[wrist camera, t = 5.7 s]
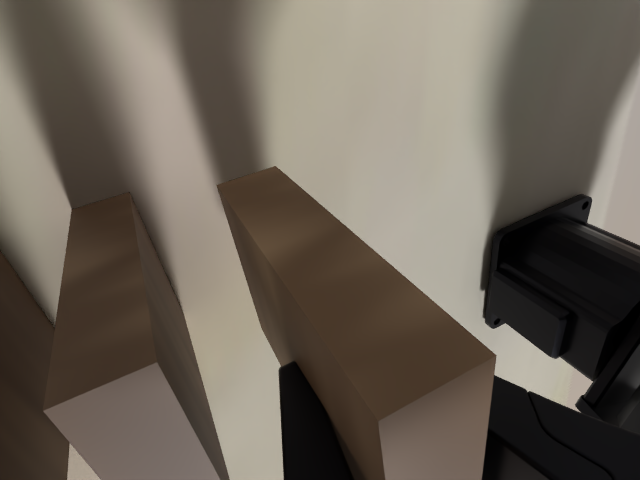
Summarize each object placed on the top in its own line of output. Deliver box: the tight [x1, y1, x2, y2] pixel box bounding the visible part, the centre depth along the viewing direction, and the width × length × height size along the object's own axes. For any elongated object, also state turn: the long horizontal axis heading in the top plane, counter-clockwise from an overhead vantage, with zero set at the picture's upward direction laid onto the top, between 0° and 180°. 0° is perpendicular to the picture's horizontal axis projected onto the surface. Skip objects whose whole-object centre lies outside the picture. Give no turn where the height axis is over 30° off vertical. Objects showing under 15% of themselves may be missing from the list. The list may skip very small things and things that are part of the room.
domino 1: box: [43, 192, 230, 480], centre depth 10 cm, size 2×5×8 cm, turn 9°
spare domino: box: [217, 166, 496, 480], centre depth 9 cm, size 2×5×8 cm, turn 10°
